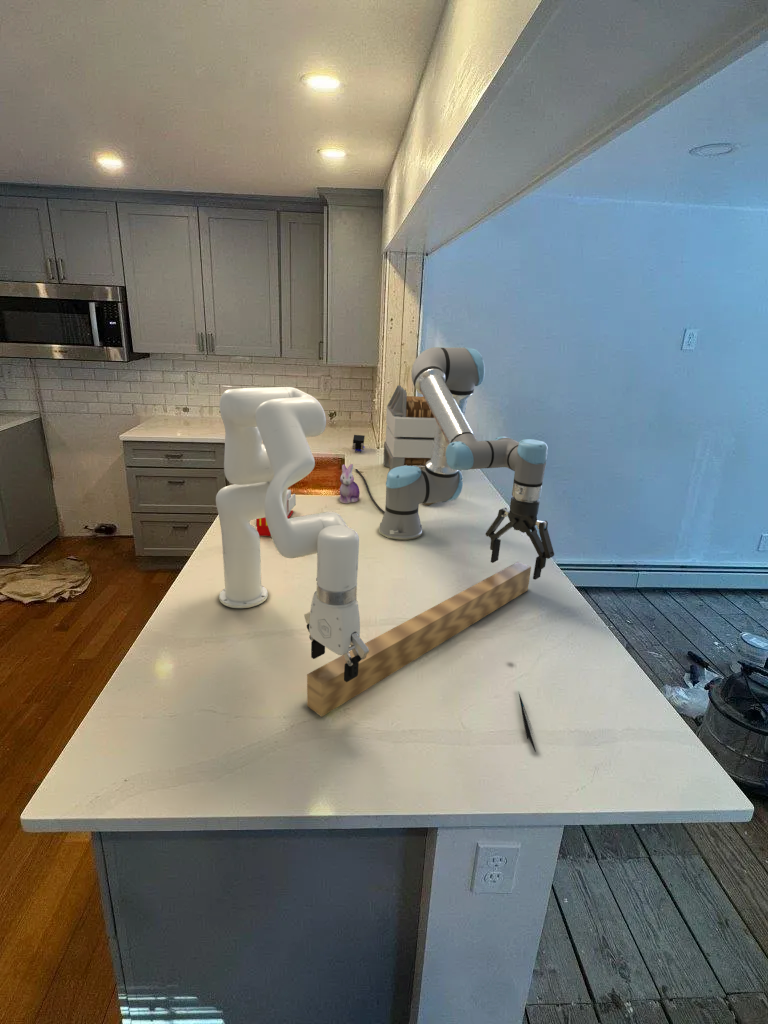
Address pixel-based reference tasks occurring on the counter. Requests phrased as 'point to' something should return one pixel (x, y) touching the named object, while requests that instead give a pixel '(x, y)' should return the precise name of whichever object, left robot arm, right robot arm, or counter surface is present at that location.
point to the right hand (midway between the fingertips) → (514, 569)
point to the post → (414, 638)
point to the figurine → (348, 486)
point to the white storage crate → (408, 431)
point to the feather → (526, 723)
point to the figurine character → (358, 442)
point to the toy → (290, 503)
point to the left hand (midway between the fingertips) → (334, 666)
